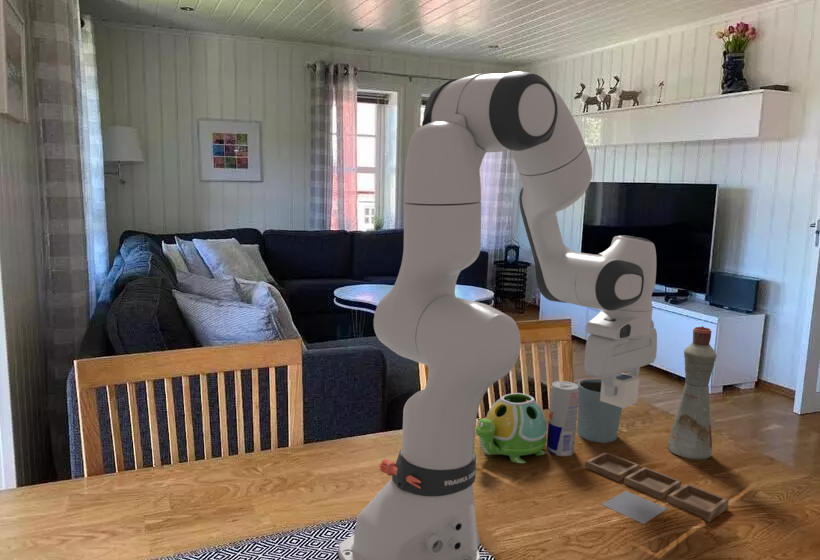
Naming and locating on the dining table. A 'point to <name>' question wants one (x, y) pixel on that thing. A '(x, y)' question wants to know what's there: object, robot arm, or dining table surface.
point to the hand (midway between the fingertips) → (619, 392)
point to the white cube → (622, 391)
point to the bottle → (695, 401)
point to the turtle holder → (513, 427)
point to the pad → (634, 507)
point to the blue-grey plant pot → (596, 413)
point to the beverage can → (562, 418)
